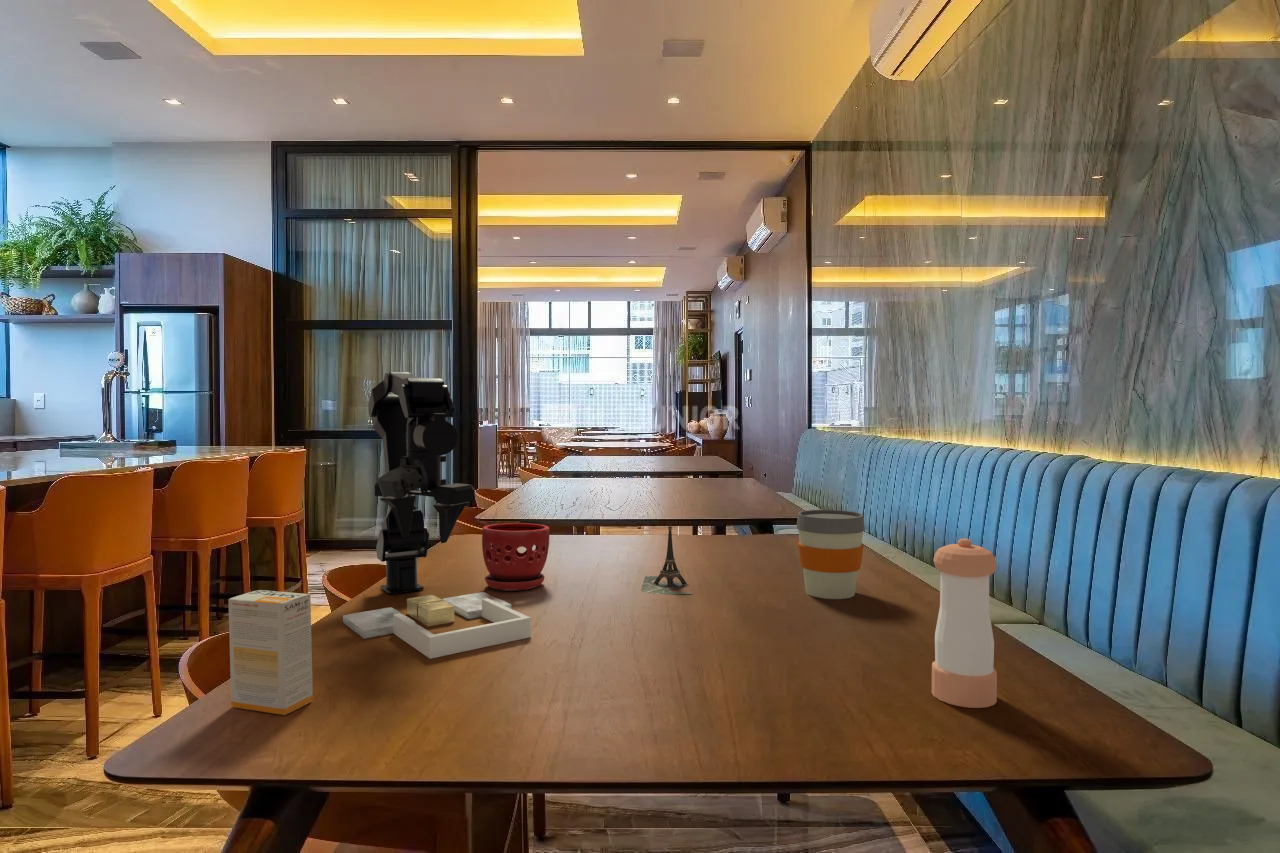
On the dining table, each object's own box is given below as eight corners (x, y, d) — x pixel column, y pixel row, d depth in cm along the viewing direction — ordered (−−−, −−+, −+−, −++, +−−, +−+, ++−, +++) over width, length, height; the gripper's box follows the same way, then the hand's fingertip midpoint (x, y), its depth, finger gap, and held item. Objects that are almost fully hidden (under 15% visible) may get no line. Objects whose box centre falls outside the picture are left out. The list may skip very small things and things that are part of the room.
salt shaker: (992, 713, 85) (994, 546, 85) (925, 700, 89) (926, 540, 88) (1000, 692, 91) (1001, 537, 91) (937, 681, 95) (938, 532, 95)
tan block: (407, 615, 127) (406, 598, 127) (432, 610, 130) (432, 594, 130) (417, 620, 124) (416, 604, 124) (442, 616, 126) (442, 599, 126)
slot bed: (343, 622, 122) (343, 615, 122) (483, 598, 137) (483, 591, 137) (364, 638, 113) (363, 630, 113) (511, 611, 128) (511, 604, 128)
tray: (393, 633, 116) (393, 614, 116) (487, 615, 126) (487, 598, 126) (430, 658, 104) (429, 637, 104) (530, 637, 114) (530, 617, 114)
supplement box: (315, 701, 89) (313, 593, 89) (283, 717, 85) (282, 603, 84) (261, 693, 92) (260, 587, 92) (228, 707, 87) (226, 597, 87)
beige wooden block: (418, 621, 123) (417, 604, 123) (444, 616, 126) (443, 600, 126) (427, 627, 120) (427, 610, 120) (454, 623, 122) (454, 606, 122)
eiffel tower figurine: (644, 578, 155) (644, 514, 155) (692, 579, 154) (692, 515, 154) (639, 596, 140) (639, 526, 140) (693, 597, 139) (693, 526, 139)
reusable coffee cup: (872, 590, 142) (873, 512, 142) (853, 605, 132) (853, 520, 131) (809, 582, 149) (809, 507, 149) (786, 595, 138) (786, 515, 138)
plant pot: (544, 594, 140) (544, 531, 140) (475, 594, 141) (475, 531, 140) (553, 578, 153) (553, 520, 153) (490, 578, 154) (489, 520, 153)
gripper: (348, 450, 126) (349, 541, 127) (428, 457, 117) (428, 555, 118) (399, 446, 136) (399, 531, 137) (477, 452, 127) (477, 542, 127)
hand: (424, 539), depth 129 cm, fingers open, 9 cm apart
